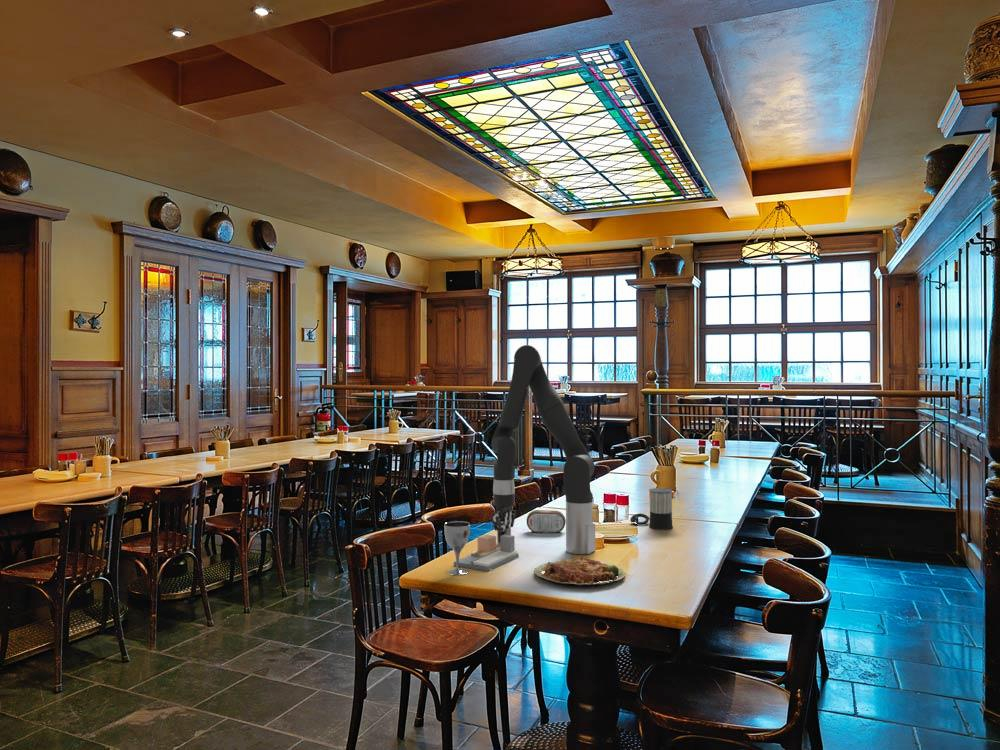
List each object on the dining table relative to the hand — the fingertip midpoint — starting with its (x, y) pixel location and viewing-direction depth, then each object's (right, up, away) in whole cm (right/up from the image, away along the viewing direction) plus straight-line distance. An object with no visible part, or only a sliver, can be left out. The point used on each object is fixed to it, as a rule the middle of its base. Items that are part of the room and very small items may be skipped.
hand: (504, 541), depth 243 cm
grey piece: (-4, -1, -7) cm, 8 cm away
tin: (+16, -3, +24) cm, 29 cm away
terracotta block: (-6, -1, -10) cm, 11 cm away
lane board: (-6, -3, -16) cm, 17 cm away
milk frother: (+59, -2, +34) cm, 68 cm away
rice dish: (+23, -3, -32) cm, 40 cm away
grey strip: (-3, -2, -17) cm, 18 cm away
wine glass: (-15, -3, -28) cm, 32 cm away
